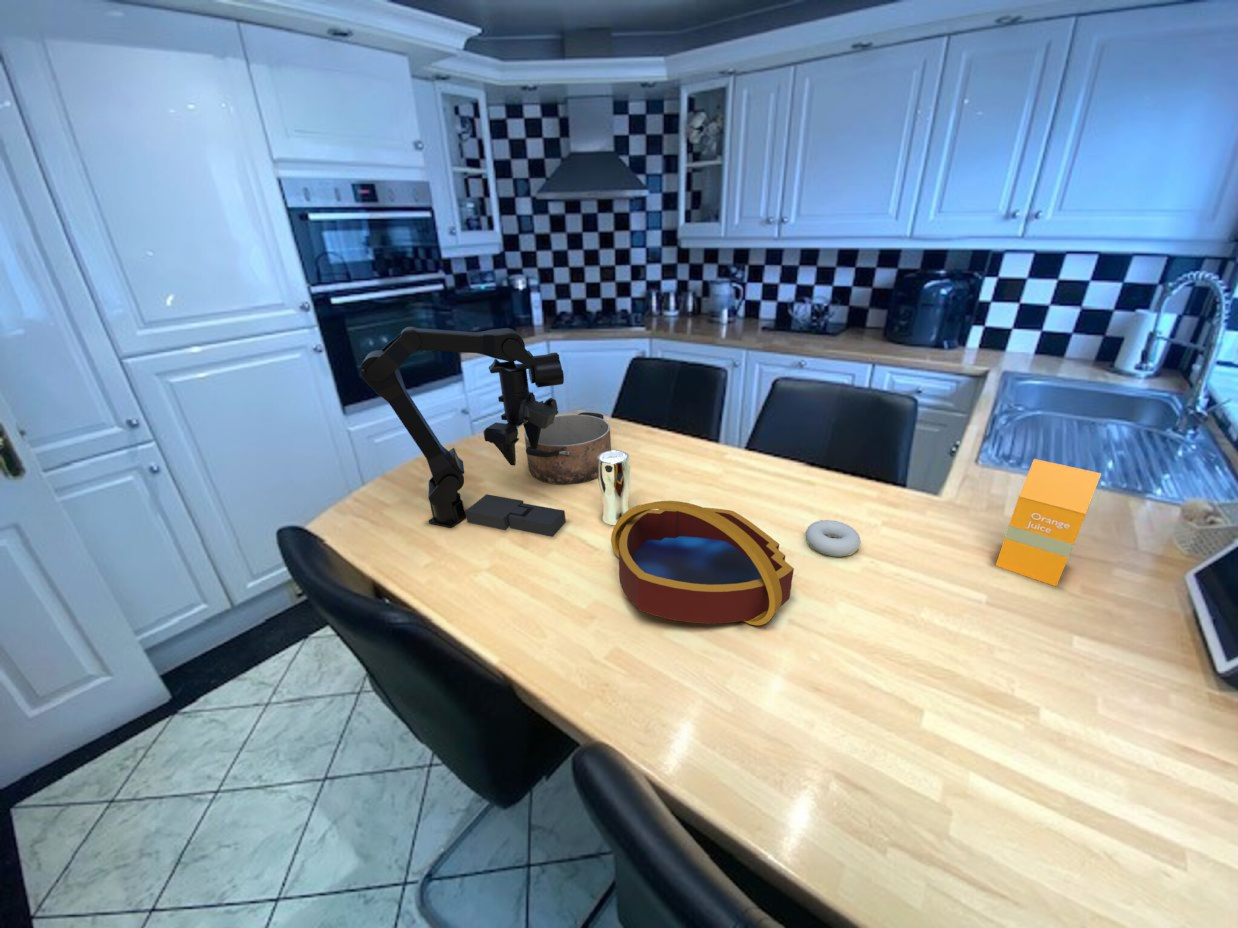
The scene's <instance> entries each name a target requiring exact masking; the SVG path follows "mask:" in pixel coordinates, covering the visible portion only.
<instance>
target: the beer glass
mask: <svg viewBox="0 0 1238 928" xmlns="http://www.w3.org/2000/svg"><path fill="white" fill-rule="evenodd" d="M631 477H632V476H631V461H630V455H629V453H628V452H626V451H624V450H619V449H618V450H617V449H613V450H612V449H611V451H605V452H603V453H601V454H599V455H598V478H597V482H598V486H599V491H600V495H601V498H602V503H603V504H602V505H603V511H602V521H603V523H605V524H607V525H609V526H615V525H616V523H617V521H618V520H619V519H620V517H621V516H622V515H623V514H624V513H625V512H627V511H628V510H630V508H629V494H630V488H631V481H632V478H631Z"/></svg>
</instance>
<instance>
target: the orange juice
mask: <svg viewBox="0 0 1238 928" xmlns="http://www.w3.org/2000/svg"><path fill="white" fill-rule="evenodd" d="M1028 470H1029V471H1028V473H1027V475H1026V477H1025V480H1024V483H1023V485H1022V488H1021V491H1020V492H1019V494H1018V497H1017V500H1016V504H1015V507H1014V510H1013V513H1012V516H1011V519H1010V522H1009V524H1008V526H1007V530H1006V532H1005V535H1004V539H1003V541H1002V545H1001V548H1000V551H999V555H998V557H997V560H996V562H995V567H998V568H1001V569H1004V570H1007V571H1009V572H1012V573H1016V574H1018V575H1021V576H1024V577H1027V578H1030V579H1033V580H1036V581H1039V582H1040V583H1041V582H1042V583H1045V584H1047V585H1050V586H1054V587H1057V586H1058V583H1059V582H1060V579H1061V576H1062V574H1063V572H1064V569H1065V566H1066V565H1067V562H1068V560H1069V558H1070V556H1071V553H1072V550H1073V548H1074V546H1075V543H1076V540H1077V538H1078V535H1079V533H1080V531H1081V529H1082V525H1083V524H1084V521H1085V518H1086V515H1087V513H1088V510H1089V508H1090V504H1091V501H1092V499H1093V496H1094V495H1095V492H1096V489H1097V486H1098V483H1099V482H1100V479H1101V476H1102V473H1101V472H1098V471H1097V472H1096V471H1093V470H1087V469H1083V468H1078V467H1074V466H1069V465H1065V464H1060V463H1056V462H1051V461H1047V460H1042V459H1037V458H1033V460H1032V463H1031V465H1030V468H1029V469H1028Z"/></svg>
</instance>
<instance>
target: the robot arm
mask: <svg viewBox="0 0 1238 928" xmlns="http://www.w3.org/2000/svg"><path fill="white" fill-rule="evenodd" d="M416 351H427V352H428V351H430V352H446V353H447V352H450V353H464V354H465V353H467V354H478V355H483V356H485V357H488V358H489V357H490V358H492V359H493V362H492V363H491V364H490V365H489V366H488V370H489V373H490V374H498V376H499V377H498V378H499V385H500V389H501V395H499V396H498V397H497V398H498V399H497V400H498V402H500V403H502V404H503V410H504V413H502V414H501V415H500V418H501V419H500V420H501V421H506V422H507V423H505V422H494V423H493V424H491V425H489V426H487V427H486V428H485V429H484V430H483V438H484V441H485V442H489V443H490V444H493V445H494V446H495V447H496V449H498V450H499V452H500V453H501V454H502V456H503V458H504V459H505V460H506V461H507V463H508V464H509V465H510V466H512V467H515V466H516V465H517V464H516V461H517V460H516V459H517V455H516V444H517V443H518V442H519V440H520V438H519V430H518V428H520V427H522V426H523V428H524V432H525V431H526V434H527V437H528V440H529V442H530V445H531V447H532V449H537V446H538V441H539V436H540V431H541V428H542V429H545V428H547V427H548V426H549V425H550V424H553V422H554V418H555V416H558V415H559V410H558V408H559V407H558V404H557V400H556V399H554V398H553V397H549V398H547V399H546V400H545V401H544V400H540V401H538V400H536V395H535V394H534V392H533V391H530V387H529V382H530V384H533V385H534V384H535V387H536V388H538V389H539V388H544V387H545V388H546V387H553V386H561V385H564V383H565V373H564V370H563V367H562V363H561V360H560V355H559V354H558V352H550V353H548V354H538V355H533V354H532V352H531V351H530V350H527V349H526V343H525V341H524V339H523V337H522V336H521V335H520V334H519V333H518V332H517V331H516V330H514V329H513V328H509V327H504V328H493V329H488V330H484V331H462V330H460V331H459V330H450V329H449V330H448V329H447V330H446V329H435V328H420V327H419V328H418V327H415V326H407V327H405V328H403V329H402V330H401V332H400V333H399V334H398V335H397V336H395V337H394V338H393V339H392V340H390V341H389V342H388V343H387V344H386V345H384V347H383V348H381V350H377V349H375V350H372V351H370V352H369V353H367V354H366V356H365V358H364V359H363V361H362V363H361V366H360V372H359V373H360V376H361V378H362V379H363V381H364V382H365V383H366V384H367V385H368V386H369V387H370V388H371V389H372V391H374V392H375V393H376V394H377V395H378V396H379V397H381V398H382V399H383V400H385V402H387V403H388V404H389V405H390V407H391V409H392V410H393V412H394V413H395V415H396V416H397V417H398V419H399V420H400V422H401V424H402V425H403V426H404V428H405V429H406V431H407V432H408V434H409V435H410V437H411V438H412V440H413V441H414V443H415V445H416V446H417V447H418V448H419V450H420V452H421V454H422V455H423V456H424V457H425V459H426V462H427V464H428V467H429V470H430V474H431V477H430V479H429V480H428V495H427V497H428V501H429V505H430V510H431V515H432V517H431V518H430V519H429V520H428V524H430V525H436V526H441V527H446V528H449V529H450V528H453V527H455V526H456V525H457V524H458V523H460V522H461V521H463V520H464V519H465V518H466V513H465V511H466V510H465V506H464V502H463V500H462V496H461V493H460V492H458V491H461V489H462V488H463V486H464V484H465V476H464V474H465V467H464V466H465V465H464V460H462V459H461V458H460V457H459V456H458V454H457V451H456V449H455V447H453V448H451V449H450V450H448V449H447V448H446V447H444V445H442V443H441V441H440V440H439V439H438V436H436V434H435V432H434V431H433V429H432V427H431V426H430V425H429V423H428V421H426V418H425V417H424V415H423V414H422V413H421V411H420V409H419V407H418V406H417V404H416V403H415V402H414V400H413V399H412V397H411V395H410V393H409V392H408V390H407V389H406V385H405V383H404V380H403V376H402V374H401V371H400V367H401V366H402V365H403V363H405V361H406V360H407V359H408V358H410V357H411V356H412V354H414V353H415V352H416ZM499 360H501V361H499ZM515 362H518V363H515ZM527 372H528V373H527ZM528 377H529V379H528ZM528 380H529V381H528Z"/></svg>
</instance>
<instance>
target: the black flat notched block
mask: <svg viewBox="0 0 1238 928" xmlns="http://www.w3.org/2000/svg"><path fill="white" fill-rule="evenodd" d="M521 507H523V508H528V514H527V515H526V516H525V517H523V516H517V515H512V514H511V515H509V516H508V517H509V523H510V526H509V528H510V529H514V530H518V531H523V532H528V533H532V534H536V535H537V534H538V535H542V536H543V535H544V536H548V537H554V536H555V535H556V534H557V533H558V532H559V530H560V529H561V528H562V527H563V526H564V525H565V524H566V521H567V520H566V511H565V510H563V509H560V508H559V509H558V508H553V507H546V506H541V505H535V504H530V503H525V502H524V503H523V504H522V505H521Z"/></svg>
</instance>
